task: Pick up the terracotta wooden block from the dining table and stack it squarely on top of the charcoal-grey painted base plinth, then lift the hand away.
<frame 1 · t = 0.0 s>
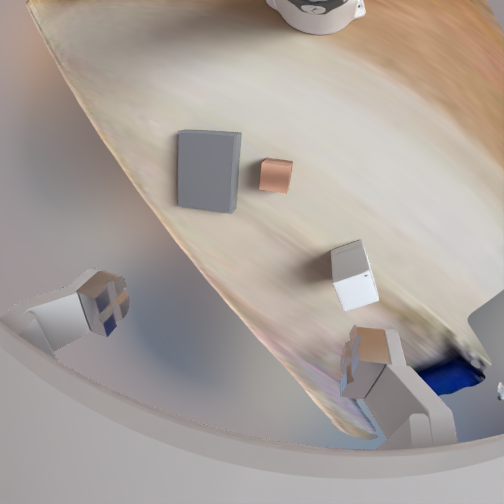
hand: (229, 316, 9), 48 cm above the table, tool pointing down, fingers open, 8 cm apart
terracotta block: (278, 171, 54), on the table
supplement box: (350, 258, 59), on the table
plinth: (210, 168, 56), on the table
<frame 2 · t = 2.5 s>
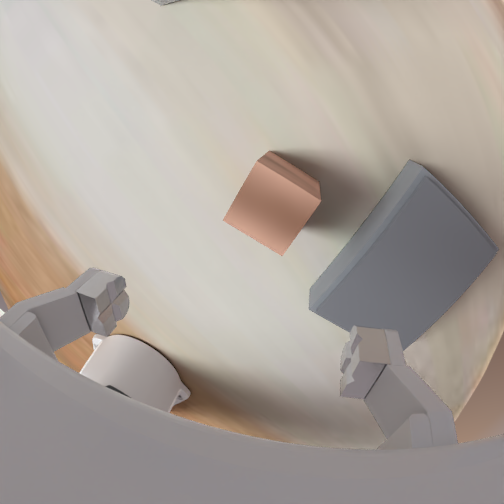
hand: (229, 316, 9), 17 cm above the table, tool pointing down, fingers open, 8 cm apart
terracotta block: (279, 189, 25), on the table
plinth: (403, 261, 25), on the table
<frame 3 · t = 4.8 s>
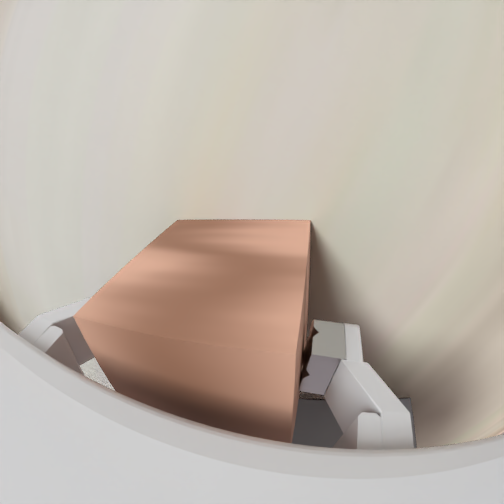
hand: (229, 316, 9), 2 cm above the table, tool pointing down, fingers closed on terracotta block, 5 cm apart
terracotta block: (245, 279, 11), on the table, touching gripper
plinth: (277, 438, 17), on the table
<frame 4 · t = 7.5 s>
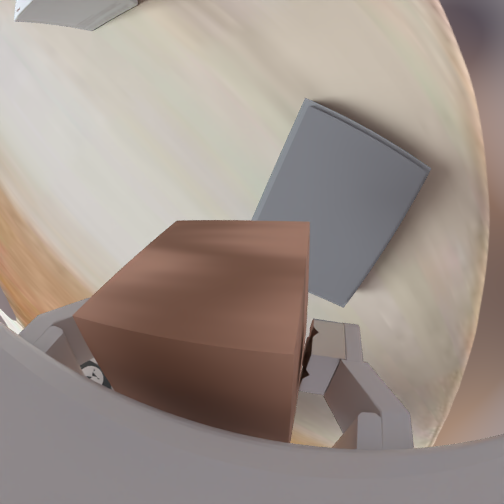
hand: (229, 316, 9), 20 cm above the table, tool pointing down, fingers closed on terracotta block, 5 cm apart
terracotta block: (244, 280, 11), point 17 cm above the table, touching gripper
plinth: (329, 202, 26), on the table
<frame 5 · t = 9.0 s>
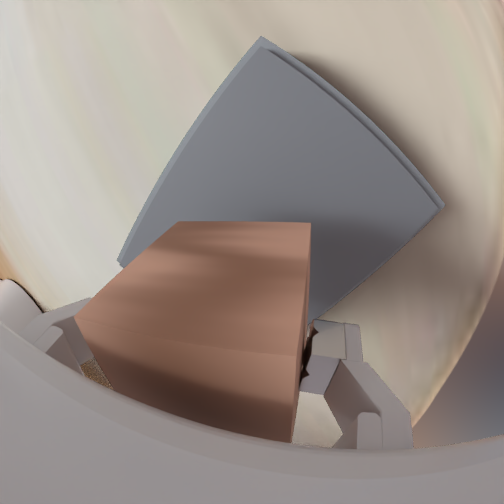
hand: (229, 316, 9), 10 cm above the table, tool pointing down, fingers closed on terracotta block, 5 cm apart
terracotta block: (245, 280, 11), point 7 cm above the table, touching gripper
plinth: (268, 212, 18), on the table
when the fingers open (8 cm above the table, at t = 10.3 s): terracotta block drops 1 cm, resting on plinth.
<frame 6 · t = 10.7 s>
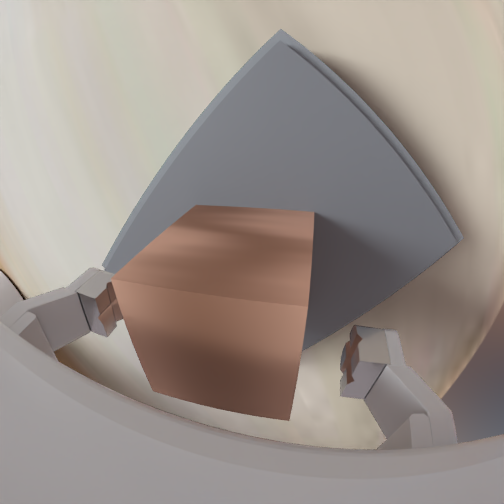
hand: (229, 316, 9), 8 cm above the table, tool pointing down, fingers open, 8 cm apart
terracotta block: (253, 261, 13), point 4 cm above the table, touching plinth
plinth: (269, 226, 16), on the table
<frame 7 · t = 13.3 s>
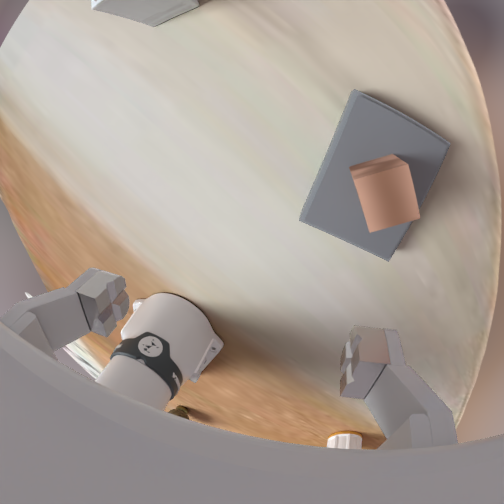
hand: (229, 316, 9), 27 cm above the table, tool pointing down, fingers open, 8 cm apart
terracotta block: (377, 182, 27), point 4 cm above the table, touching plinth
cup: (345, 437, 58), on the table
plinth: (372, 173, 30), on the table
cup 2: (183, 407, 68), on the table
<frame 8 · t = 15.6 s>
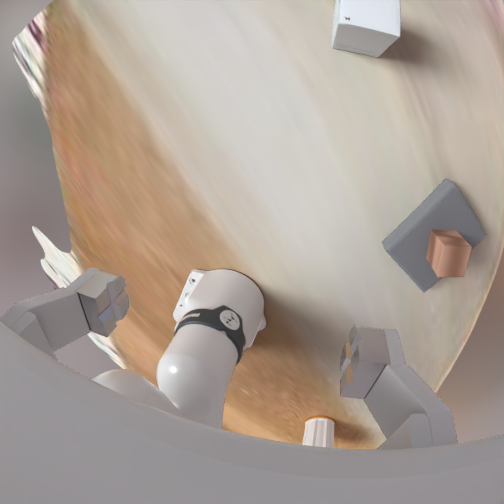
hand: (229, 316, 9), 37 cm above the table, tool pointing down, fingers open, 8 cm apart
terracotta block: (441, 244, 38), point 4 cm above the table, touching plinth
supplement box: (356, 33, 30), on the table
cup: (319, 422, 73), on the table
plinth: (433, 233, 41), on the table
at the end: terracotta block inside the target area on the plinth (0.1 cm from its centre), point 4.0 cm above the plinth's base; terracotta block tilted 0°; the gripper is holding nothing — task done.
